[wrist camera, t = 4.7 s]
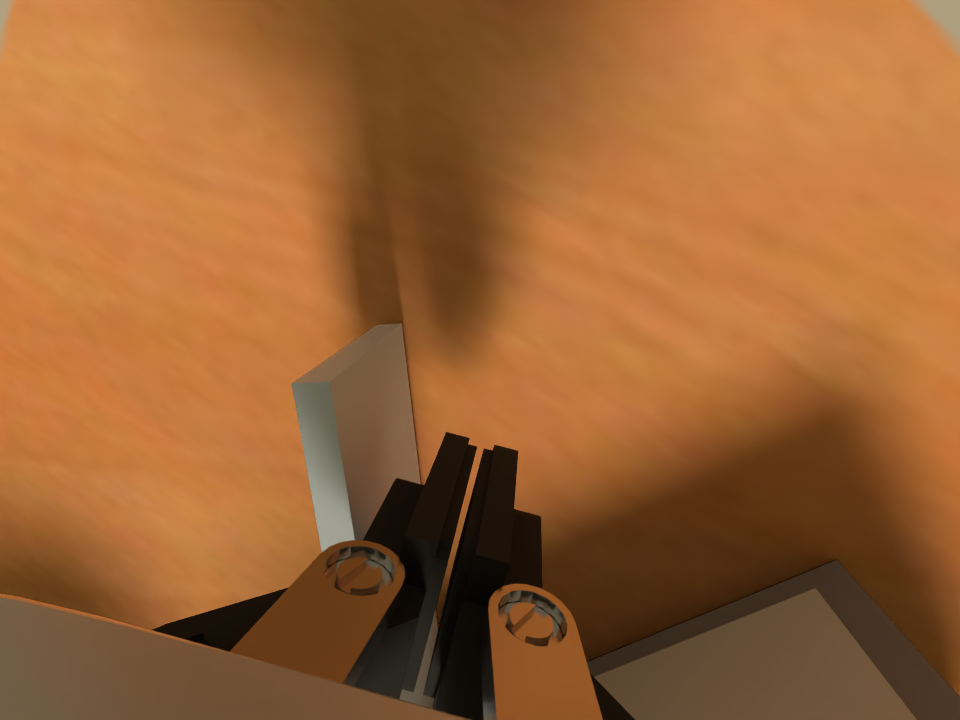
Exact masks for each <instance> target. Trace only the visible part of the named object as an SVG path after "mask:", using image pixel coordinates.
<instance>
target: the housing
mask: <svg viewBox="0 0 960 720" xmlns="http://www.w3.org/2000/svg"><path fill="white" fill-rule="evenodd" d="M587 665H588V669H589V672H590V673H591V674H592V675H593V677H594V678H595V679H596V680H597V681H598V682H599V683H600V684H601V685H602V686H603V687H604V688H605V689H606V690H607V691H608V692H609V693H610V694H611V695H612V696H613V697H614V698H615V699H616V700H617V701H618V702H619V703H620V704H621V705H622V707H623V708H624V709H625V710H626V711H627V712H628V713H629V714H630V715H631V716H632V717H633V718H634V719H635V720H960V696H959V695H958V694H957V693H956V692H955V691H954V690H953V689H952V687H951V686H950V685H949V684H948V683H947V682H946V681H945V680H944V678H943V677H942V676H941V675H940V674H939V673H938V672H937V671H936V670H935V668H934V667H933V666H932V665H931V664H930V663H929V662H928V661H927V660H926V658H925V657H924V656H923V655H922V654H921V653H920V652H919V651H918V649H917V648H916V647H915V646H914V645H913V644H912V643H911V642H910V641H909V639H908V638H907V637H906V636H905V635H904V634H903V633H902V632H901V630H900V629H899V628H898V627H897V626H896V625H895V624H894V623H893V622H892V620H891V619H890V618H889V617H888V616H887V615H886V614H885V613H884V611H883V610H882V609H881V608H880V607H879V606H878V605H877V604H876V603H875V601H874V600H873V599H872V598H871V597H870V596H869V595H868V594H867V593H866V591H865V590H864V589H863V588H862V587H861V586H860V585H859V584H858V582H857V581H856V580H855V579H854V578H853V577H852V576H851V575H850V574H849V572H848V571H847V570H846V569H845V568H844V567H843V566H842V565H841V563H840V562H839V561H838V560H835V561H833V562H830V563H828V564H825V565H823V566H821V567H818V568H816V569H813V570H811V571H808V572H806V573H803V574H801V575H799V576H796V577H794V578H791V579H789V580H786V581H784V582H781V583H779V584H777V585H774V586H772V587H769V588H767V589H764V590H762V591H760V592H757V593H755V594H752V595H750V596H747V597H745V598H742V599H740V600H738V601H735V602H733V603H730V604H728V605H725V606H723V607H720V608H718V609H716V610H713V611H711V612H708V613H706V614H703V615H701V616H698V617H696V618H694V619H691V620H689V621H686V622H684V623H681V624H679V625H676V626H674V627H672V628H669V629H667V630H664V631H662V632H659V633H657V634H654V635H652V636H650V637H647V638H645V639H642V640H640V641H637V642H635V643H632V644H630V645H628V646H625V647H623V648H620V649H618V650H615V651H613V652H610V653H608V654H606V655H603V656H601V657H598V658H596V659H593V660H591V661H588V662H587Z"/></svg>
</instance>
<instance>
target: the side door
mask: <svg viewBox="0 0 960 720" xmlns="http://www.w3.org/2000/svg"><path fill="white" fill-rule="evenodd" d="M292 388H293V393H294V399H295V405H296V410H297V416H298V421H299V427H300V433H301V438H302V444H303V449H304V455H305V461H306V466H307V472H308V478H309V483H310V489H311V494H312V500H313V506H314V511H315V517H316V523H317V528H318V534H319V539H320V545H321V551H322V552H323V551H324V550H326V549H327V548H328V547H330V546H332V545H335V544H337V543H340V542H344V541H351V540H362V541H363V539H364V537H365V535H366V533H367V531H368V529H369V528H370V526H371V524H372V522H373V520H374V518H375V516H376V514H377V512H378V511H379V509H380V507H381V505H382V503H383V501H384V499H385V497H386V496H387V494H388V492H389V490H390V488H391V486H392V484H393V482H394V481H395V479H396V478H400V479H403V480H407V481H411V482H415V483H418V484H421V483H420V474H419V466H418V457H417V449H416V440H415V432H414V423H413V415H412V406H411V398H410V389H409V381H408V372H407V364H406V355H405V347H404V339H403V330H402V323H398V324H381V325H376V326H374V327H373V328H371V329H370V330H369V331H367V332H366V333H364V334H363V335H361V336H360V337H358V338H357V339H355V340H354V341H353V342H351V343H350V344H348V345H347V346H345V347H344V348H342V349H341V350H340V351H338V352H337V353H335V354H334V355H332V356H331V357H329V358H328V359H327V360H325V361H324V362H322V363H321V364H319V365H318V366H316V367H315V368H313V369H312V370H311V371H309V372H308V373H306V374H305V375H303V376H302V377H300V378H299V379H298V380H296V381H295V382H293V383H292ZM437 633H438V627H437V618H436V610H435V613H434V617H433V621H432V625H431V628H430V632H429V636H428V640H427V644H426V648H425V651H424V655H423V659H422V663H421V667H420V671H419V674H418V678H417V682H416V686H415V690H414V692H410V691H407V690H403V689H402V692H401V695H400V699H401V700H404V701H408V702H411V703H415V704H418V705H422V706H425V707H429V708H432V707H433V702H434V698H432V697H428V696H425V695H423V693H424V688H425V684H426V680H427V675H428V671H429V667H430V663H431V658H432V654H433V650H434V645H435V641H436V637H437Z"/></svg>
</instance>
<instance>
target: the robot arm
mask: <svg viewBox="0 0 960 720" xmlns="http://www.w3.org/2000/svg"><path fill="white" fill-rule="evenodd" d="M468 443H469V438H467V437H463V436H459V435H456V434H452V433H448V432H446V434H445V437H444V439H443V442H442V444H441V446H440V449H439V451H438V454H437V456H436V459H435V461H434V463H433V466H432V468H431V471H430V473H429V476H428V478H427V480H426V483H425V485H422V484H418V483H415V482H411V481H407V480H403V479H400V478H396V479H395V481H394V482H393V484H392V486H391V488H390V490H389V492H388V494H387V496H386V497H385V499H384V501H383V503H382V505H381V507H380V509H379V511H378V512H377V514H376V516H375V518H374V520H373V522H372V524H371V526H370V528H369V529H368V531H367V533H366V535H365V537H364V539H363V541H362V540H351V541H344V542H340V543H337V544H335V545H332V546H330V547H328V548H327V549H326V550H324V551H323V552H322V553H320V555H319V556H318V557H317V558H316V559H315V560H314V561H313V562H312V563H311V564H310V565H309V566H308V568H307V569H306V570H305V571H304V572H303V573H302V574H301V575H300V576H299V577H298V578H297V579H296V581H295V582H294V583H293V584H292V585H291V586H290V587H289V588H286V589H282V590H279V591H276V592H272V593H269V594H266V595H262V596H259V597H255V598H252V599H249V600H245V601H242V602H239V603H235V604H232V605H229V606H225V607H222V608H219V609H215V610H212V611H208V612H205V613H202V614H198V615H195V616H192V617H188V618H185V619H182V620H178V621H175V622H171V623H168V624H165V625H163V626H160V627H158V628H155V629H153V630H149V629H145V628H142V627H138V626H134V625H131V624H127V623H123V622H120V621H116V620H113V619H109V618H105V617H102V616H98V615H94V614H89V613H85V612H81V611H77V610H73V609H69V608H64V607H60V606H56V605H52V604H48V603H43V602H39V601H35V600H31V599H27V598H22V597H18V596H13V595H6V594H0V720H635V719H634V718H633V717H632V716H631V715H630V714H629V713H628V712H627V711H626V710H625V709H624V708H623V707H622V705H621V704H620V703H619V702H618V701H617V700H616V699H615V698H614V697H613V696H612V695H611V694H610V693H609V692H608V691H607V690H606V689H605V688H604V687H603V686H602V685H601V684H600V683H599V682H598V681H597V680H596V679H595V678H594V677H593V675H592V674H591V673H590V672H589V669H588V665H587V661H586V658H585V654H584V651H583V647H582V644H581V640H580V636H579V633H578V629H577V626H576V623H575V621H574V618H573V616H572V614H571V612H570V611H569V610H568V609H567V607H566V606H565V605H564V604H563V602H561V601H560V600H559V599H557V598H556V597H555V596H554V595H552V594H551V593H549V592H547V591H545V590H543V589H542V546H541V517H540V516H538V515H534V514H530V513H527V512H523V511H519V510H515V509H514V500H515V487H516V473H517V459H518V451H516V450H513V449H509V448H505V447H501V446H497V445H494V448H493V451H491V450H488V449H484V450H483V454H482V458H481V461H480V465H479V469H478V473H477V477H476V480H475V484H474V488H473V492H472V496H471V499H470V503H469V507H468V511H467V514H466V518H465V522H464V526H463V530H462V533H461V537H460V541H459V545H458V548H457V552H456V556H455V560H454V564H453V569H452V573H451V577H450V581H449V586H448V590H447V594H446V599H445V603H444V607H443V611H442V616H441V620H440V624H439V628H438V633H437V637H436V641H435V645H434V650H433V654H432V658H431V663H430V667H429V671H428V675H427V680H426V684H425V688H424V693H423V695H425V696H428V697H432V698H434V702H433V707H432V708H429V707H425V706H422V705H418V704H415V703H411V702H408V701H404V700H401V699H400V695H401V692H402V689H403V690H407V691H410V692H414V690H415V686H416V682H417V678H418V674H419V671H420V667H421V663H422V659H423V655H424V651H425V648H426V644H427V640H428V636H429V632H430V628H431V625H432V621H433V617H434V613H435V609H436V605H437V602H438V598H439V594H440V590H441V586H442V582H443V578H444V575H445V571H446V567H447V563H448V559H449V555H450V552H451V548H452V544H453V540H454V536H455V532H456V528H457V524H458V520H459V516H460V512H461V508H462V504H463V500H464V496H465V492H466V488H467V484H468V480H469V476H470V473H471V469H472V465H473V461H474V457H475V453H476V449H477V447H476V446H472V445H469V444H468Z"/></svg>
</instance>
